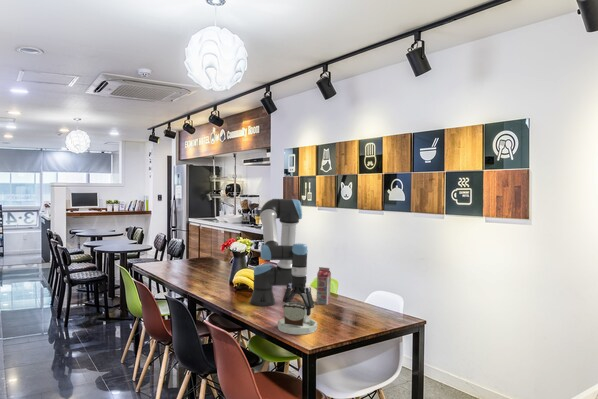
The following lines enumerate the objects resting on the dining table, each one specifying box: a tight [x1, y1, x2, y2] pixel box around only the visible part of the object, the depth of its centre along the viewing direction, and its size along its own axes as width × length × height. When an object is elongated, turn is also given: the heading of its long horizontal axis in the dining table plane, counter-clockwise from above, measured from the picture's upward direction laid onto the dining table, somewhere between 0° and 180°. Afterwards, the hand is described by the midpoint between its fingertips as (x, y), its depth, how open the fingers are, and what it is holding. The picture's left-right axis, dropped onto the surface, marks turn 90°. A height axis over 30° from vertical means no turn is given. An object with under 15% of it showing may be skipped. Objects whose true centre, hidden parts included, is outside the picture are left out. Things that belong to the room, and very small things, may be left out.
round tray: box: [277, 317, 318, 336], centre depth 213 cm, size 19×19×3 cm
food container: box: [282, 301, 306, 327], centre depth 213 cm, size 12×6×10 cm, turn 72°
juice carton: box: [315, 266, 332, 306], centre depth 266 cm, size 7×7×22 cm
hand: (297, 319), depth 213 cm, fingers closed on food container, 11 cm apart
